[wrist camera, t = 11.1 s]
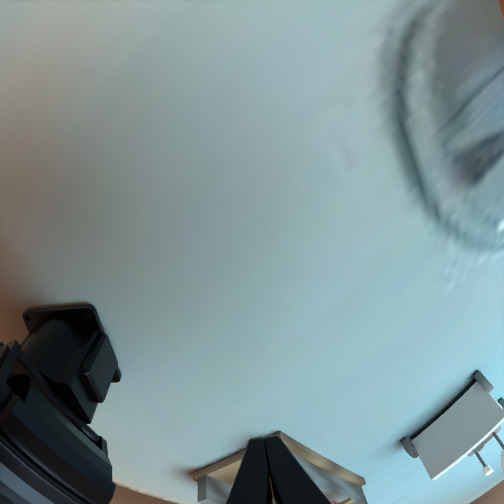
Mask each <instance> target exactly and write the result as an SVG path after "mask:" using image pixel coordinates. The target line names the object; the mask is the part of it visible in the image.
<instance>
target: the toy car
mask: <svg viewBox="0 0 504 504" xmlns="http://www.w3.org/2000/svg"><path fill="white" fill-rule="evenodd" d="M474 377H475V379H476V380H477V381H476V382H475V383H474V384H473V385H472V386H471V387H470V388H469V389H468V390H467V391H466V392H465V393H464V394H463V395H462V396H461V397H460V398H459V399H458V400H457V401H456V402H455V403H454V404H453V405H452V406H451V407H450V408H449V409H448V410H447V411H446V412H445V413H443V414H442V415H441V416H440V417H439V418H438V419H437V420H436V421H435V422H433V423H432V424H431V425H430V426H429V427H428V428H426V429H425V430H424V431H423V432H422V433H420V434H419V435H418V436H417V437H415V438H414V439H413V438H410V437H406V438H405V439H403V440H402V445H403V447H404V449H405V450H406V452H407V453H408V454H409V455H410V456H411V457H413V458H417V457H418V456H419V457H420V459H421V461H422V463H423V465H424V466H425V468H426V470H427V472H428V474H429V476H430V478H431V480H436V479H437V478H438V477H440V476H441V475H442V474H444V473H445V472H446V471H448V470H449V469H450V468H451V467H453V466H454V465H455V464H457V463H458V462H459V461H460V460H462V459H463V458H464V457H465V456H466V455H468V456H472V455H473V454H474V453H475V454H476V456H477V457H478V459H479V460H480V462H481V463H482V465H483V467H484V469H482V471H483V473H484V475H489V474H490V473H491V472H493V469H492V468H491V466H489V465H487V466H486V464H485V463H484V461H483V460H482V458H481V457H480V455H479V453H478V451H480V450H481V449H482V448H483V447H484V444H485V443H487V442H488V441H489V440H490V439H491V438H492V437H493V436H494V437H495V438H496V440H497V441H498V442H499V444H500V445H501V447H502V448H503V451H502V454H501V466H502V469H503V470H504V444H503V443H502V442H501V440H500V439H499V437H498V436H497V435H496V433H497V432H498V431H499V430H500V429H501V427H500V426H499V425H500V424H501V423H502V422H503V421H504V400H503V398H501V399H500V400H499V401H498V402H497V401H496V400H495V398H494V397H493V396H492V395H491V394H490V393H489V392H490V391H491V390H492V389H493V386H492V385H491V383H490V382H489V381H488V380H487V379H486V378H485V377H484V375H483V374H482V373H481V372H480V371H479V370H478V371H477V372H476V373H475V374H474Z"/></svg>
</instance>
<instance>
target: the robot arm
mask: <svg viewBox="0 0 504 504" xmlns="http://www.w3.org/2000/svg"><path fill="white" fill-rule="evenodd" d="M87 311H89V312H90V313H91V314H92V315H90V314H88V313H87ZM28 316H29V317H30V318H29V317H28ZM23 319H24V322H25V324H26V326H27V329H28V331H29V335H28V336H27V337H26V338H25V340H24V341H23V342H22V344H21V345H19V343H18V342H17V341H16V340H14V341H12V342H10V343H8V344H6V345H4V344H3V342H2V343H1V342H0V504H109V503H110V501H111V500H112V498H113V495H114V491H115V487H116V485H115V483H114V482H113V481H112V465H111V463H110V460H109V458H108V451H107V442H106V440H105V439H103V438H102V437H101V436H98V435H97V434H96V433H95V432H94V431H93V430H92V429H91V428H90V427H89V426H88V425H87V424H90V423H91V421H92V419H93V416H94V413H95V410H96V407H97V405H98V403H103V401H104V400H105V397H106V395H107V392H108V389H109V386H110V384H111V383H113V382H119V381H120V379H121V376H122V375H121V372H120V370H119V368H118V361H117V359H116V356H115V354H114V351H113V349H112V346H111V344H110V341H109V339H108V336H107V335H106V334H105V333H104V330H103V327H102V325H101V322H100V319H99V316H98V314H97V311H96V309H95V308H94V307H93V306H91V305H82V306H70V307H58V308H45V309H31V310H26V311H25V312H24V313H23ZM113 375H115V376H116V377H115V376H113ZM264 440H265V441H264ZM265 447H266V448H265ZM270 480H271V481H270ZM271 487H272V488H271ZM272 493H273V495H272ZM273 498H274V502H275V504H332V503H331V502H330V501H329V500H328V498H327V497H326V496H325V495H324V493H323V492H322V491H321V490H320V488H319V487H318V486H317V485H316V483H315V482H314V481H313V480H312V478H311V477H310V476H309V475H308V473H307V472H306V471H305V469H304V468H303V467H302V466H301V464H300V463H299V462H298V460H297V459H296V458H295V456H294V455H293V454H292V452H291V451H290V450H289V448H288V447H287V446H286V444H285V443H284V442H283V440H282V439H281V438H280V436H278V435H271V436H266V437H265V438H263V437H257V438H251V439H250V440H249V441H248V444H247V447H246V450H245V453H244V455H243V458H242V461H241V464H240V467H239V469H238V472H237V475H236V478H235V480H234V483H233V486H232V488H231V491H230V494H229V496H228V499H227V501H226V504H273Z"/></svg>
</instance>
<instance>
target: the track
mask: <svg viewBox="0 0 504 504" xmlns="http://www.w3.org/2000/svg"><path fill="white" fill-rule="evenodd" d="M273 435H278V436H280V438H281V439H282V440H283V442H284V443H285V444H286V446H287V447H288V448H289V450H290V451H291V452H292V454H293V455H294V456H295V458H296V459H297V460H298V462H299V463H300V464H301V466H302V467H303V468H304V469H305V471H306V472H307V473H308V475H309V476H310V477H311V478H312V480H313V481H314V482H315V483H316V485H317V486H318V487H319V488H320V490H321V491H322V492H323V493H324V495H325V496H326V497H327V498H328V499H330V500H333V501H336V502H339V503H338V504H367V501H366V498H365V495H364V493H363V490H362V487H361V486H363V485H365V484H366V482H365V480H364V478H363V477H361V476H359V475H357V474H355V473H353V472H351V471H349V470H347V469H345V468H343V467H341V466H339V465H338V464H336V463H334V462H332V461H330V460H328V459H327V458H325V457H323V456H321V455H319V454H318V453H316V452H314V451H312V450H311V449H309V448H307V447H306V446H304V445H302V444H300V443H299V442H297V441H296V440H294V439H292V438H291V437H289V436H287V435H286V434H284V433H283V432H281V431H279V432H277V433H275V434H273ZM264 441H265V440H264ZM265 448H266V447H265ZM245 450H246V449H244V450H242V451H240V452H238V453H236V454H234V455H232V456H229V457H227V458H225V459H223V460H221V461H219V462H216V463H214V464H212V465H209V466H207V467H205V468H202V469H200V470H198V471H195V472H194V473H193V480H195V481H197V482H198V502H199V503H202V504H226V501H227V499H228V496H229V494H230V491H231V488H232V486H233V483H234V480H235V478H236V475H237V472H238V469H239V467H240V464H241V461H242V458H243V455H244V453H245ZM270 481H271V480H270ZM271 488H272V487H271ZM272 495H273V493H272ZM273 504H275V502H274V498H273Z"/></svg>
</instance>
